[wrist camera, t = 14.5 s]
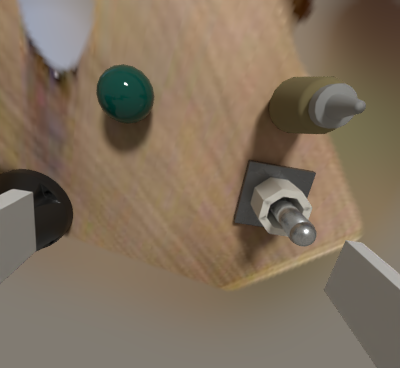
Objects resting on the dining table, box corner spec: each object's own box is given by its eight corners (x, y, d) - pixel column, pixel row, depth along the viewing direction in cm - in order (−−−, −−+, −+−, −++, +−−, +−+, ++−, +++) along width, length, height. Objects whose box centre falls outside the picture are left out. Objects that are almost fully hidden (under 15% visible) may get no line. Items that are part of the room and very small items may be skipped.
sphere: (148, 62, 36) (135, 51, 28) (164, 114, 38) (156, 116, 31) (100, 77, 37) (75, 70, 29) (119, 127, 39) (101, 132, 32)
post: (233, 219, 45) (250, 272, 31) (248, 159, 41) (275, 189, 27) (292, 228, 46) (335, 283, 32) (312, 171, 42) (371, 204, 28)
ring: (247, 215, 43) (254, 231, 38) (257, 175, 41) (267, 186, 35) (287, 221, 44) (301, 238, 38) (300, 181, 41) (317, 194, 36)
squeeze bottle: (290, 139, 40) (359, 165, 23) (252, 113, 39) (297, 121, 22) (321, 97, 38) (423, 92, 21) (283, 68, 36) (359, 36, 19)
